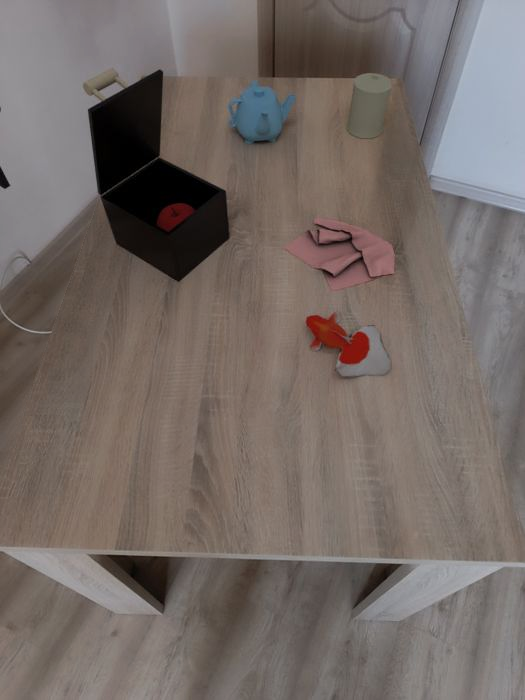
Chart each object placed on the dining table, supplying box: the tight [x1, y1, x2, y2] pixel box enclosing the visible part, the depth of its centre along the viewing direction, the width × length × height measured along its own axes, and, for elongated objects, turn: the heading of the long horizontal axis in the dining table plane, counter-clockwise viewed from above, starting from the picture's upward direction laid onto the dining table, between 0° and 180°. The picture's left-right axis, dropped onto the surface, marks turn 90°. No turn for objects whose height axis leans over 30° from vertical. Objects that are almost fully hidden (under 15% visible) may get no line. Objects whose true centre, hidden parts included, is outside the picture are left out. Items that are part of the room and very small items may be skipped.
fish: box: [305, 309, 392, 379], centre depth 79 cm, size 11×16×10 cm
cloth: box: [283, 217, 396, 292], centre depth 96 cm, size 20×22×2 cm
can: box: [346, 72, 393, 140], centre depth 117 cm, size 9×9×12 cm
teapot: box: [227, 80, 297, 145], centre depth 116 cm, size 15×14×11 cm
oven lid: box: [82, 67, 164, 196], centre depth 84 cm, size 18×16×7 cm
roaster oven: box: [100, 156, 230, 283], centre depth 94 cm, size 18×16×12 cm
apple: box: [157, 203, 196, 232], centre depth 93 cm, size 9×9×10 cm
